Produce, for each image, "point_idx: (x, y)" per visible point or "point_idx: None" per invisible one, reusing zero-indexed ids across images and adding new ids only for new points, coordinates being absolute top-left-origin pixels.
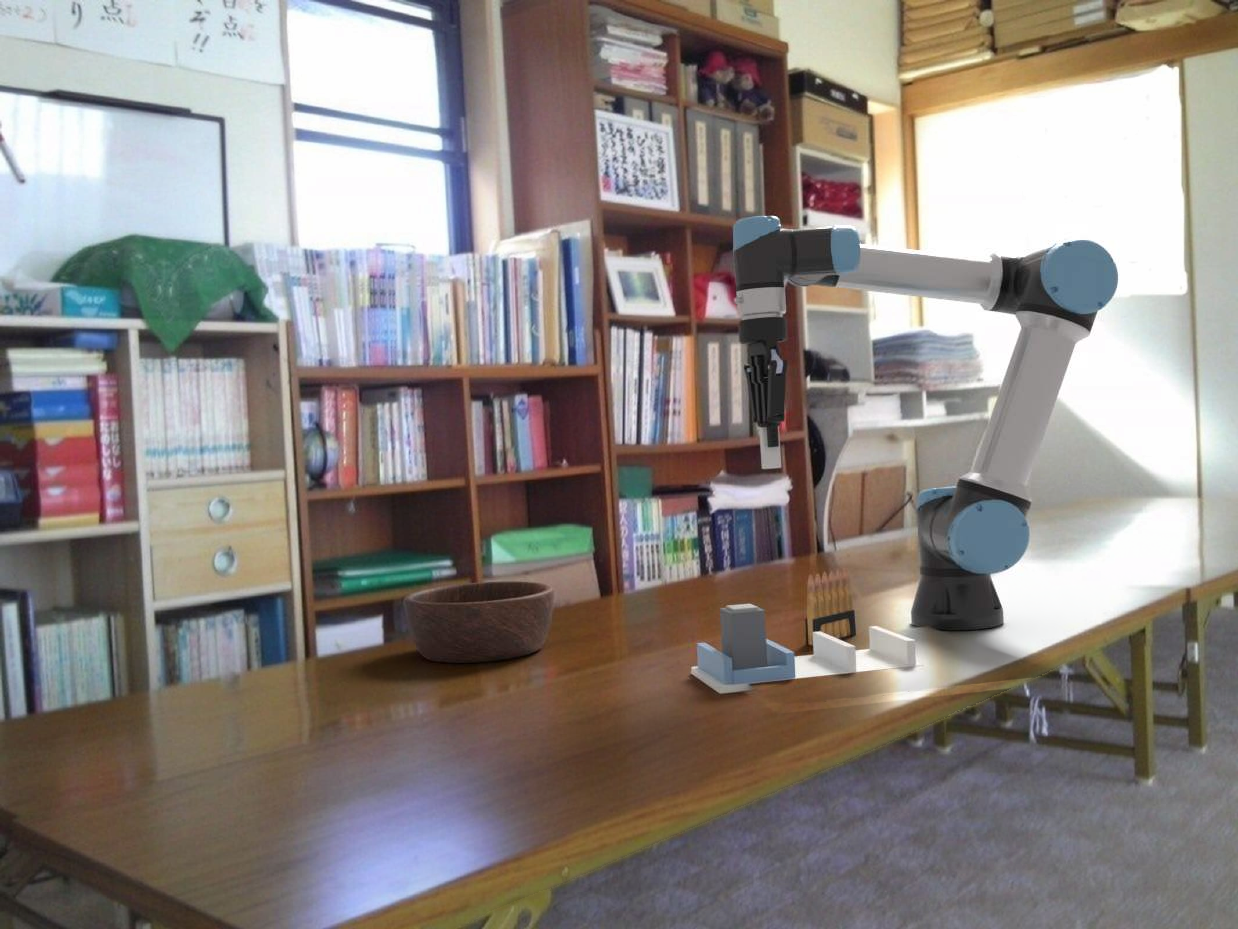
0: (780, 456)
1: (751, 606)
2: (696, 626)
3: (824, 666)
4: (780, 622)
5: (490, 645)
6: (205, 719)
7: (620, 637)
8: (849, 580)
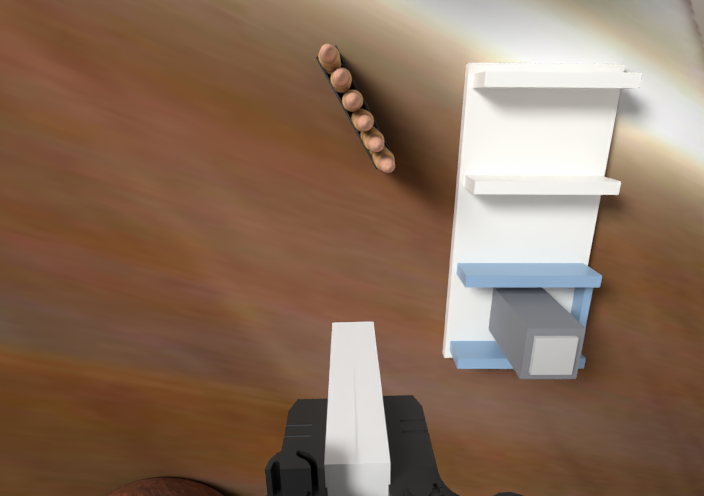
0: (375, 348)
1: (565, 345)
2: (80, 252)
3: (544, 203)
4: (92, 104)
5: None
6: None
7: (137, 376)
8: (332, 45)
